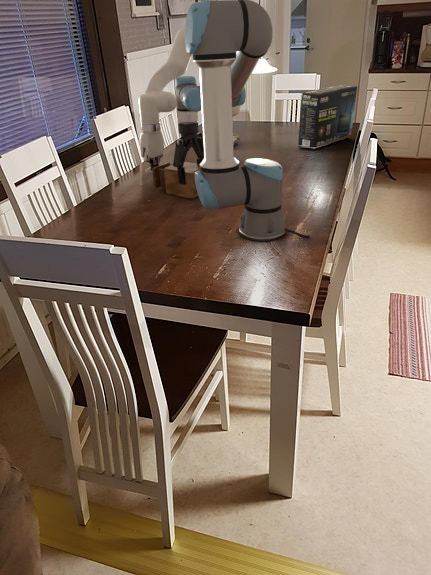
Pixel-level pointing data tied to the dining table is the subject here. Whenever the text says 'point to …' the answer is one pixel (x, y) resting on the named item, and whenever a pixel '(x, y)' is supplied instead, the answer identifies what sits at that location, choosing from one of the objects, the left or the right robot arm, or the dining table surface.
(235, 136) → the fossil
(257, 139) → the dining table surface
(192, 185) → the wooden block
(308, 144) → the router box
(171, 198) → the dining table surface
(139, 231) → the dining table surface
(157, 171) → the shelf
